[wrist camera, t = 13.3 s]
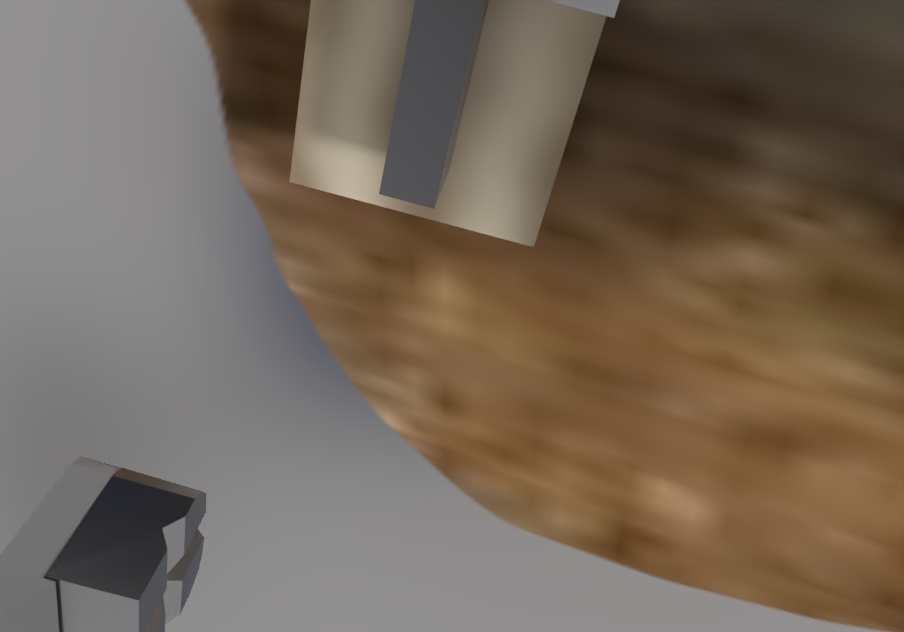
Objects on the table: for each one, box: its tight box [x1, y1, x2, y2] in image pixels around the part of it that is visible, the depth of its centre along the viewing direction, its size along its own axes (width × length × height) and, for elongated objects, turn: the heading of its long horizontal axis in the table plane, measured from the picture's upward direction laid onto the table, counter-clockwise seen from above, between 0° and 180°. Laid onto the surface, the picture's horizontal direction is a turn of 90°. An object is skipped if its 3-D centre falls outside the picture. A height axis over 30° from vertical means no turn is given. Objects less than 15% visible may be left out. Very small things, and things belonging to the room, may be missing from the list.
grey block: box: [379, 0, 620, 209], centre depth 34 cm, size 12×10×4 cm
